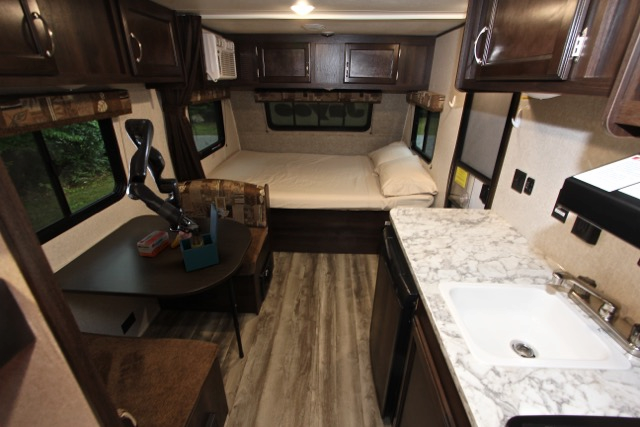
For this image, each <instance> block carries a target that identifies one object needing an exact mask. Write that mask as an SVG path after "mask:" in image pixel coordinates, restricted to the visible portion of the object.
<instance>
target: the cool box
mask: <svg viewBox="0 0 640 427" xmlns="http://www.w3.org/2000/svg"><path fill="white" fill-rule="evenodd" d="M200 235H201V236H202V237H203V241H204V246H201V247H196V248H191V242H190V238H191V237H190V238H186V239H181V240H179V242H180V244H179V245H180V250H181V254H182V259H183V263H184V266H185V267H184V268H185V270H186V272H187V273H188V272H192V271H195V270H200V269H202V268H206V267H210V266H213V265H217V264H220V259H219V253H218V247H217V243H215V241H214V239H213V237H212V235H211V233H210V232H208V233H204V234H200Z"/></svg>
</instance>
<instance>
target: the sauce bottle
mask: <svg viewBox="0 0 640 427" xmlns="http://www.w3.org/2000/svg"><path fill="white" fill-rule="evenodd" d="M191 227H192V228H193V229H195V230H196V231H198V232H199V227H200V226H199V225H198V224H196V225H192V226H191ZM199 233H200V232H199ZM191 235H192V236H191V238H190V242H191V248H196V247H201V246H204V241H203V237H202V236H201V235H202V234H200V235H199V236H198V237H197V236H195V235H194V234H192V233H191Z"/></svg>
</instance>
